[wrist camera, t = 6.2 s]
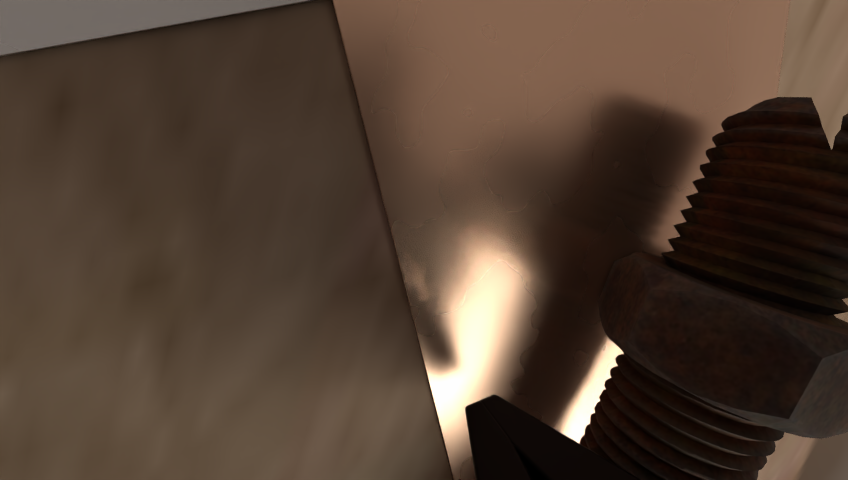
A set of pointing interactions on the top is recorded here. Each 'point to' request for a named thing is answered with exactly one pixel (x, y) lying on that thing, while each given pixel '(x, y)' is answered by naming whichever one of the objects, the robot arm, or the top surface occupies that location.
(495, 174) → the seat and pad
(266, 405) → the top surface
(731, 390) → the bolt
